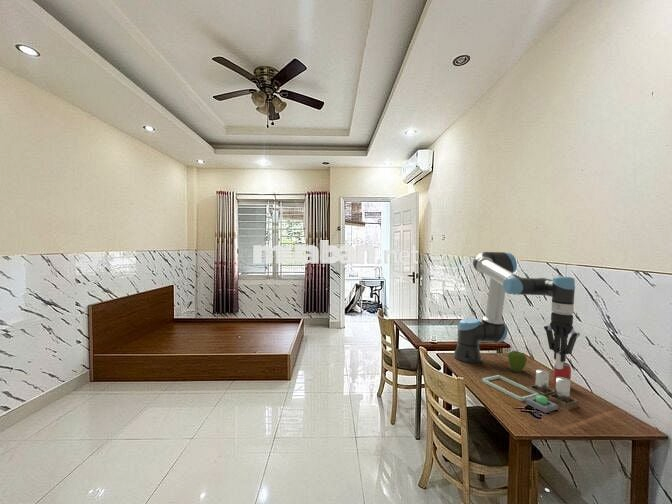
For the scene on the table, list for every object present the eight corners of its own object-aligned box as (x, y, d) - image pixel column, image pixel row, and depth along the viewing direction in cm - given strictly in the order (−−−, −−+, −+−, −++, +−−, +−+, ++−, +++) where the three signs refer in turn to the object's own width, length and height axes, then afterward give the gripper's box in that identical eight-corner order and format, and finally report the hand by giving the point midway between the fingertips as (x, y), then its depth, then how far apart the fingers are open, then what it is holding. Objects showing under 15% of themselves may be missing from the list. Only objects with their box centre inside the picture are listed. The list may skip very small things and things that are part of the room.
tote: (481, 383, 152) (481, 378, 152) (498, 379, 157) (499, 374, 157) (521, 404, 133) (521, 398, 133) (539, 399, 138) (540, 393, 138)
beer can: (572, 392, 146) (574, 367, 146) (557, 390, 148) (558, 365, 147) (565, 385, 153) (566, 361, 152) (550, 384, 154) (552, 360, 154)
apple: (529, 374, 165) (530, 353, 165) (517, 375, 163) (518, 354, 162) (515, 368, 173) (516, 347, 173) (503, 369, 171) (504, 348, 171)
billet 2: (552, 400, 135) (553, 377, 134) (558, 398, 137) (560, 376, 136) (564, 406, 130) (566, 382, 130) (571, 404, 132) (573, 381, 132)
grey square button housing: (525, 405, 131) (526, 399, 131) (537, 402, 135) (538, 395, 135) (545, 415, 124) (545, 408, 124) (557, 411, 128) (557, 404, 127)
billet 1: (532, 391, 142) (533, 370, 142) (539, 389, 145) (540, 368, 144) (543, 396, 138) (544, 374, 138) (550, 394, 140) (551, 372, 140)
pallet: (524, 393, 143) (524, 386, 143) (538, 389, 147) (538, 382, 147) (566, 413, 127) (567, 405, 127) (580, 408, 131) (581, 401, 131)
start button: (533, 402, 130) (534, 395, 130) (539, 401, 132) (540, 394, 132) (543, 407, 127) (543, 400, 127) (549, 405, 128) (549, 398, 128)
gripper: (540, 310, 135) (538, 364, 136) (574, 317, 123) (571, 375, 124) (551, 309, 138) (548, 361, 139) (584, 315, 127) (581, 373, 127)
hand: (559, 368), depth 131 cm, fingers closed
